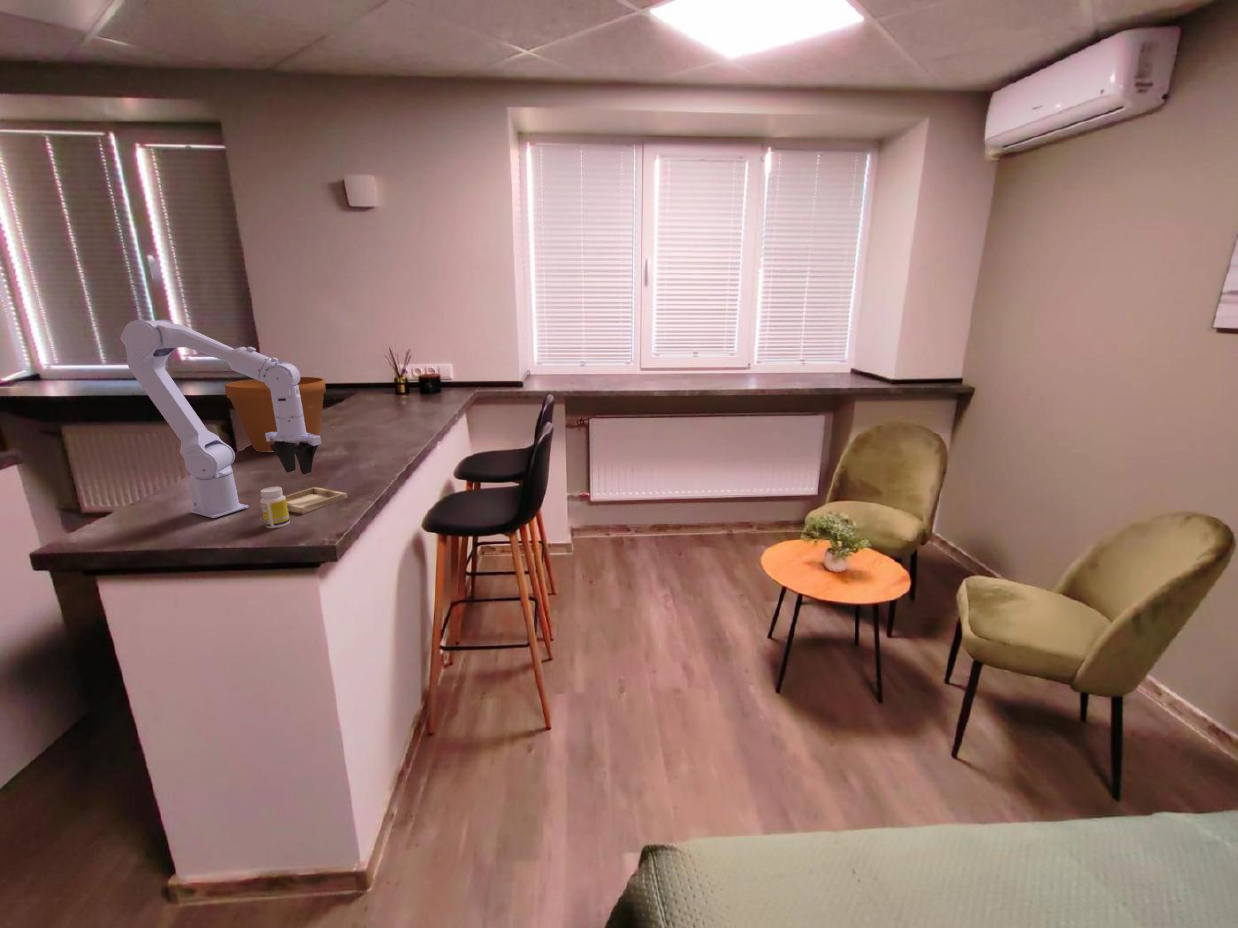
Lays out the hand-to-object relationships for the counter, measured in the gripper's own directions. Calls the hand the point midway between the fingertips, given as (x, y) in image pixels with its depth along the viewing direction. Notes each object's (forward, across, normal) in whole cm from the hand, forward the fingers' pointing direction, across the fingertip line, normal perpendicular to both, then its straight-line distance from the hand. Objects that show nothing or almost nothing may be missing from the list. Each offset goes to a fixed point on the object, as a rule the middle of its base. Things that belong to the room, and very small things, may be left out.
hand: (298, 472), depth 128 cm
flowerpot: (+9, -51, +41) cm, 66 cm away
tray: (+9, -1, +2) cm, 9 cm away
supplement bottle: (+9, +4, -10) cm, 14 cm away
